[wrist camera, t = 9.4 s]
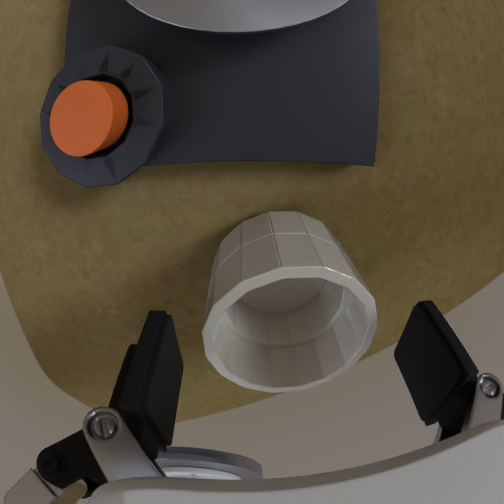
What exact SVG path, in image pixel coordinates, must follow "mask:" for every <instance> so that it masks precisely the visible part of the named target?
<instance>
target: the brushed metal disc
mask: <svg viewBox="0 0 504 504" xmlns="http://www.w3.org/2000/svg"><path fill="white" fill-rule="evenodd" d="M126 1H127V2H128V3H129V4H131V5H132V6H133V7H135V8H136V9H137V10H138V11H140V12H141V13H143V14H145V15H146V16H148V17H150V18H152V19H154V20H156V21H159V22H161V23H164V24H166V25H169V26H173V27H176V28H180V29H183V30H189V31H194V32H200V33H210V34H219V35H245V34H260V33H268V32H276V31H281V30H285V29H290V28H295V27H298V26H301V25H304V24H308V23H311V22H313V21H316V20H318V19H320V18H323V17H325V16H327V15H329V14H330V13H332V12H334V11H336V10H337V9H339V8H340V7H341V6H343V5H344V4H345V3H347V2H348V1H349V0H126Z"/></svg>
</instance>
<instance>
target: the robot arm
mask: <svg viewBox="0 0 504 504" xmlns="http://www.w3.org/2000/svg"><path fill="white" fill-rule="evenodd" d="M394 357H395V360H396V362H397V364H398V366H399V369H400V371H401V373H402V375H403V378H404V380H405V382H406V385H407V387H408V389H409V392H410V394H411V396H412V399H413V401H414V404H415V406H416V409H417V411H418V414H419V416H420V418H421V420H423V421H424V422H425V424H426V426H428V425H431V424H434V423H436V422H437V421H438V423H439V428H438V431H437V434H436V437H435V440H434V443H433V444H432V445H430V446H427V447H424V448H422V449H418V450H415V451H413V452H410V453H407V454H403V455H400V456H397V457H393V458H390V459H387V460H383V461H379V462H375V463H372V464H367V465H363V466H358V467H354V468H349V469H344V470H339V471H333V472H327V473H321V474H313V475H306V476H298V477H287V478H273V479H248V480H242V479H241V478H240V477H239V476H237V475H234V474H232V473H228V472H224V471H219V470H213V469H206V468H198V467H183V466H173V467H164V468H161V467H160V466H159V465H158V463H157V462H156V459H157V458H158V452H159V451H162V452H166V447H167V445H168V446H170V445H171V444H172V438H173V432H174V425H175V418H176V411H177V405H178V398H179V392H180V386H181V380H182V374H183V360H182V356H181V353H180V349H179V345H178V341H177V337H176V332H175V328H174V324H173V320H172V316H171V315H167V313H166V311H153V310H151V311H149V313H148V316H147V319H146V321H145V324H144V327H143V330H142V332H141V335H140V338H139V341H138V344H137V345H135V344H131V345H130V346H129V348H128V350H127V353H126V356H125V358H124V361H123V364H122V367H121V370H120V373H119V376H118V379H117V382H116V385H115V388H114V391H113V394H112V397H111V400H110V403H109V407H98V408H95V409H93V410H91V411H90V412H89V413H88V414H87V415H86V416H85V418H84V420H83V427H82V428H83V429H82V430H80V431H78V432H76V433H74V434H72V435H70V436H68V437H67V438H65V439H63V440H61V441H59V442H57V443H55V444H53V445H51V446H49V447H47V448H45V449H44V450H42V451H41V452H40V454H39V455H38V458H37V467H36V468H35V469H34V470H33V469H32V468H31V469H30V470H29V471H28V472H27V473H26V474H25V475H24V476H23V477H22V478H21V479H20V480H19V481H18V482H17V483H16V484H15V485H14V486H13V487H12V488H11V489H10V490H9V491H8V492H7V493H6V495H5V496H4V504H76V503H77V502H78V501H79V500H80V499H81V498H84V499H85V498H88V497H90V496H91V497H90V499H89V501H88V503H87V504H504V393H503V387H502V384H501V382H500V381H499V379H498V378H497V377H496V376H494V375H492V374H490V373H483V374H481V375H480V376H479V377H477V374H478V372H479V371H478V369H477V367H476V366H475V364H474V363H473V361H472V359H471V358H470V356H469V354H468V353H467V351H466V350H465V348H464V346H463V345H462V343H461V342H460V340H459V339H458V337H457V336H456V334H455V333H454V331H453V330H452V328H451V327H450V325H449V324H448V322H447V321H446V320H445V318H444V317H443V315H442V314H441V312H440V311H439V310H438V308H437V307H436V305H435V304H434V303H433V302H432V301H431V300H428V301H420V302H418V303H417V304H416V306H414V307H413V310H412V312H411V315H410V317H409V319H408V322H407V324H406V326H405V329H404V331H403V333H402V335H401V338H400V340H399V342H398V344H397V346H396V349H395V351H394Z"/></svg>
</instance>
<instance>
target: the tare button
mask: <svg viewBox="0 0 504 504" xmlns="http://www.w3.org/2000/svg"><path fill="white" fill-rule="evenodd" d="M128 116H129V108H128V102H127V99H126V97H125V95H124V93H123V92H122V91H121V90H120V89H119V88H118V87H117V86H115V85H114V84H111V83H108V82H100V81H90V80H82V81H78V82H75V83H73V84H71V85H69V86H68V87H67V88H65V89H64V90H63V91H62V92H61V94H60V95H59V96H58V98H57V99H56V101H55V103H54V105H53V108H52V111H51V116H50V130H51V134H52V137H53V140H54V142H55V144H56V145H57V146H58V148H59V149H60V150H62V151H63V152H64V153H66V154H68V155H71V156H75V157H81V156H86V155H89V154H91V153H94V152H97V151H99V150H102V149H105V148H107V147H109V146H111V145H112V144H114V143H115V142H116V141H117V140H118V139H119V138H120V136H121V135H122V133H123V132H124V130H125V128H126V125H127V121H128Z"/></svg>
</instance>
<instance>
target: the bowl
mask: <svg viewBox="0 0 504 504" xmlns="http://www.w3.org/2000/svg"><path fill="white" fill-rule="evenodd" d="M377 326H378V318H377V311H376V305H375V300H374V298H373V296H372V294H371V292H370V291H369V289H368V287H367V286H366V284H365V282H364V281H363V279H362V278H361V276H360V274H359V273H358V271H357V269H356V268H355V266H354V265H353V263H352V261H351V260H350V258H349V257H348V255H347V254H346V252H345V250H344V249H343V247H342V246H341V244H340V243H339V241H338V240H337V238H336V237H335V236H334V235H333V234H332V233H331V232H330V231H329V229H328V228H327V227H326V226H325V225H324V224H323V223H322V222H321V221H318V220H316V219H314V218H311V217H309V216H307V215H304V214H302V213H299V212H291V211H269V212H266V213H263V214H261V215H258V216H255V217H253V218H250V219H248V220H245V221H243V222H242V223H240V224H239V225H238V226H237V227H235V228H234V229H233V230H232V231H231V232H230V233H229V234H228V235H227V236H226V237H225V238H224V239H223V240H222V242H221V243H220V246H219V248H218V251H217V253H216V255H215V258H214V260H213V264H212V270H211V276H210V282H209V288H208V293H207V299H206V306H205V312H204V319H203V325H202V332H201V333H202V339H203V345H204V351H205V356H206V358H207V359H208V360H209V361H210V363H211V364H212V365H213V366H214V367H215V369H216V370H217V371H218V372H219V374H220V375H222V376H223V377H225V378H227V379H229V380H231V381H233V382H234V383H236V384H238V385H240V386H242V387H245V388H249V389H254V390H259V391H264V392H272V393H275V392H291V391H300V390H304V389H308V388H311V387H314V386H317V385H321V384H324V383H327V382H329V381H330V380H332V379H334V378H336V377H337V376H339V375H340V374H342V373H344V372H345V371H347V370H348V369H350V368H351V367H352V366H354V364H355V363H356V362H357V361H358V360H359V359H360V358H361V357H362V356H363V354H364V353H365V352H366V351H367V350H368V349H369V347H370V345H371V342H372V340H373V337H374V334H375V331H376V329H377Z"/></svg>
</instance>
